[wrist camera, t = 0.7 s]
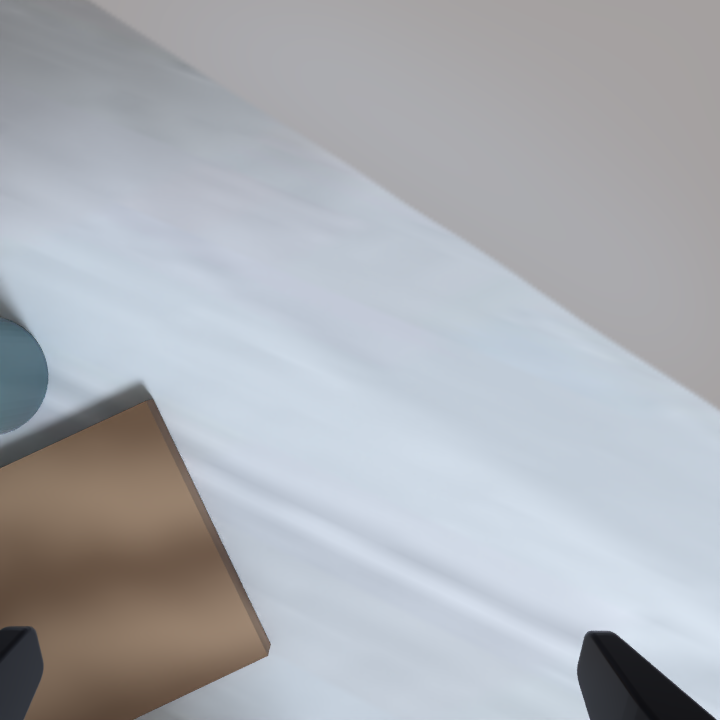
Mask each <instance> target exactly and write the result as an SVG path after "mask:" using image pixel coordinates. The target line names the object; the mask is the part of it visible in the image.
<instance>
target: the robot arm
mask: <svg viewBox="0 0 720 720" xmlns="http://www.w3.org/2000/svg"><path fill="white" fill-rule="evenodd" d="M43 669H44V662H43V657H42V653H41V649H40V645H39V641H38V636H37V632H36V630H35V629H34V628H33V627H31V626H8V627H5V628H3V629H1V630H0V720H24V718H25V716H26V713H27V711H28V709H29V706H30V704H31V702H32V700H33V697H34V695H35V693H36V690H37V688H38V686H39V683H40V681H41V678H42V675H43ZM577 675H578V681H579V685H580V688H581V691H582V695H583V698H584V701H585V705H586V708H587V711H588V714H589V718H590V720H716V719H715V718H714V717H713V716H712V715H711V714H709V713H708V712H707V711H706V710H705V709H703V708H702V707H701V706H700V705H699V704H698V703H696V702H695V701H694V700H693V699H692V698H691V697H689V696H688V695H687V694H686V693H685V692H684V691H682V690H681V689H680V688H679V687H678V686H677V685H675V684H674V683H673V682H672V681H671V680H669V679H668V678H667V677H666V676H665V675H664V674H662V673H661V672H660V671H659V670H658V669H657V668H655V667H654V666H653V665H652V664H651V663H650V662H648V661H647V660H646V659H645V658H644V657H642V656H641V655H640V654H639V653H638V652H637V651H635V650H634V649H633V648H632V647H631V646H630V645H628V644H627V643H626V642H625V641H624V640H623V639H621V638H620V637H619V636H618V635H616V634H615V633H613V632H611V631H588V632H587V633H586V634H585V637H584V640H583V645H582V649H581V653H580V657H579V661H578V666H577Z"/></svg>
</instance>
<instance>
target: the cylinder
mask: <svg viewBox="0 0 720 720" xmlns="http://www.w3.org/2000/svg"><path fill="white" fill-rule="evenodd" d="M47 385H48V369H47V363H46V359H45V356H44V354H43V351H42V349H41V348H40V346H39V344H38V343H37V341H36V340H35V339H34V337H33V336H32V335H31V334H30V333H29V332H28V331H26V330H25V329H24V328H23V327H21V326H20V325H18V324H16V323H14V322H12V321H10V320H8V319H4V318H1V317H0V435H1V434H5V433H8V432H11V431H13V430H15V429H17V428H19V427H21V426H22V425H23V424H25V423H26V422H27V421H28V420H29V419H31V418H32V417H33V415H34V414H35V413H36V412H37V410H38V409H39V407H40V405H41V404H42V402H43V399H44V397H45V394H46V390H47Z"/></svg>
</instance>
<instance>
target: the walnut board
mask: <svg viewBox="0 0 720 720" xmlns="http://www.w3.org/2000/svg"><path fill="white" fill-rule="evenodd" d="M8 626H31V627H33V628H34V629H35V630H36V632H37V636H38V641H39V645H40V649H41V653H42V657H43V662H44V669H43V675H42V678H41V681H40V683H39V686H38V688H37V690H36V693H35V695H34V697H33V700H32V702H31V704H30V706H29V709H28V711H27V713H26V716H25V718H24V720H134V719H136V718H138V717H140V716H142V715H144V714H146V713H148V712H150V711H152V710H155V709H157V708H159V707H161V706H163V705H165V704H167V703H169V702H171V701H174V700H176V699H178V698H180V697H182V696H184V695H186V694H188V693H190V692H193V691H195V690H197V689H199V688H201V687H203V686H205V685H207V684H209V683H211V682H214V681H216V680H218V679H220V678H222V677H224V676H226V675H228V674H230V673H233V672H235V671H237V670H239V669H241V668H243V667H245V666H247V665H249V664H252V663H254V662H256V661H258V660H260V659H262V658H264V657H266V656H268V653H269V649H270V645H271V644H270V642H269V640H268V638H267V636H266V634H265V632H264V630H263V628H262V626H261V623H260V621H259V619H258V617H257V615H256V613H255V611H254V609H253V607H252V605H251V603H250V600H249V598H248V596H247V594H246V592H245V590H244V588H243V586H242V584H241V582H240V580H239V577H238V575H237V573H236V571H235V569H234V567H233V565H232V563H231V561H230V559H229V557H228V555H227V552H226V550H225V548H224V546H223V544H222V542H221V540H220V538H219V536H218V534H217V532H216V529H215V527H214V525H213V523H212V521H211V519H210V517H209V515H208V513H207V511H206V509H205V506H204V504H203V502H202V500H201V498H200V496H199V494H198V492H197V490H196V488H195V486H194V484H193V481H192V479H191V477H190V475H189V473H188V471H187V469H186V467H185V465H184V463H183V461H182V458H181V456H180V454H179V452H178V450H177V448H176V446H175V444H174V442H173V440H172V438H171V435H170V433H169V431H168V429H167V427H166V425H165V423H164V421H163V419H162V417H161V415H160V412H159V410H158V408H157V406H156V404H155V402H154V400H153V399H151V400H147V401H145V402H142V403H140V404H138V405H136V406H134V407H132V408H129V409H127V410H125V411H123V412H121V413H119V414H116V415H114V416H112V417H110V418H108V419H106V420H103V421H101V422H99V423H97V424H95V425H93V426H90V427H88V428H86V429H84V430H82V431H80V432H77V433H75V434H73V435H71V436H69V437H67V438H64V439H62V440H60V441H58V442H56V443H54V444H52V445H49V446H47V447H45V448H43V449H41V450H39V451H36V452H34V453H32V454H30V455H28V456H26V457H23V458H21V459H19V460H17V461H15V462H13V463H10V464H8V465H6V466H4V467H2V468H0V630H1V629H3V628H5V627H8Z"/></svg>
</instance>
